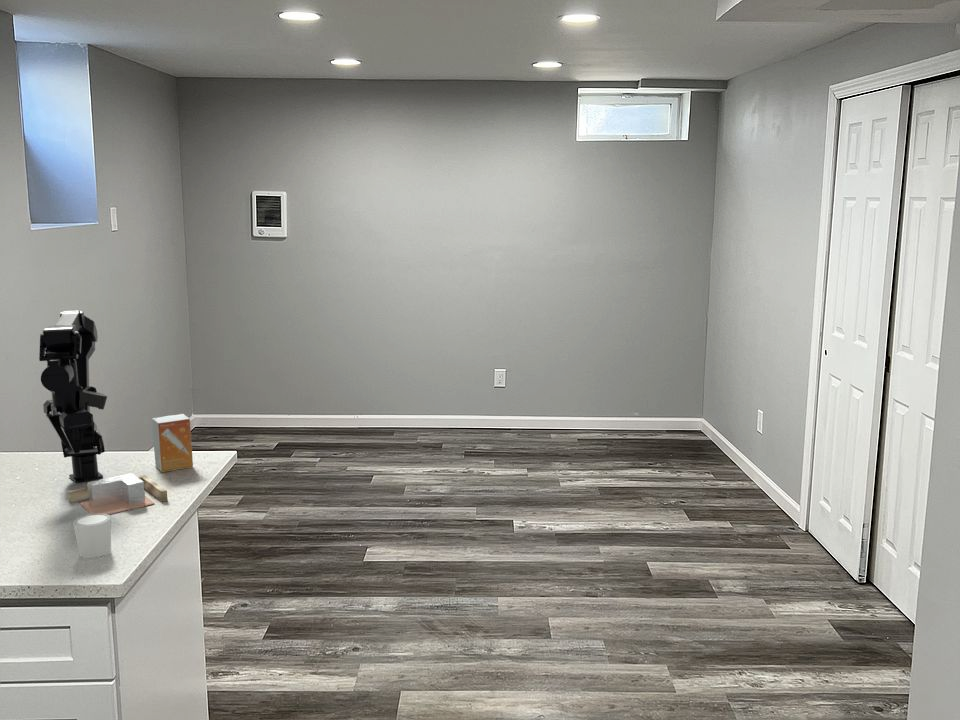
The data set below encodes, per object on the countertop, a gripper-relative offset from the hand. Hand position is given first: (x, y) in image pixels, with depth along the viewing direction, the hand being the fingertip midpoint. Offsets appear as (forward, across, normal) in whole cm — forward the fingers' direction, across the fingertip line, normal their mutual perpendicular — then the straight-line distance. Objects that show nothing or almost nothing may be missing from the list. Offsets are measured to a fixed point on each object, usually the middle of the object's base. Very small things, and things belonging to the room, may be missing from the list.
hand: (71, 448), depth 207 cm
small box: (+12, +8, -26) cm, 30 cm away
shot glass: (+12, -36, +6) cm, 39 cm away
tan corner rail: (+12, -9, -7) cm, 16 cm away
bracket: (+12, -11, -6) cm, 17 cm away
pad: (+12, -11, -6) cm, 17 cm away
